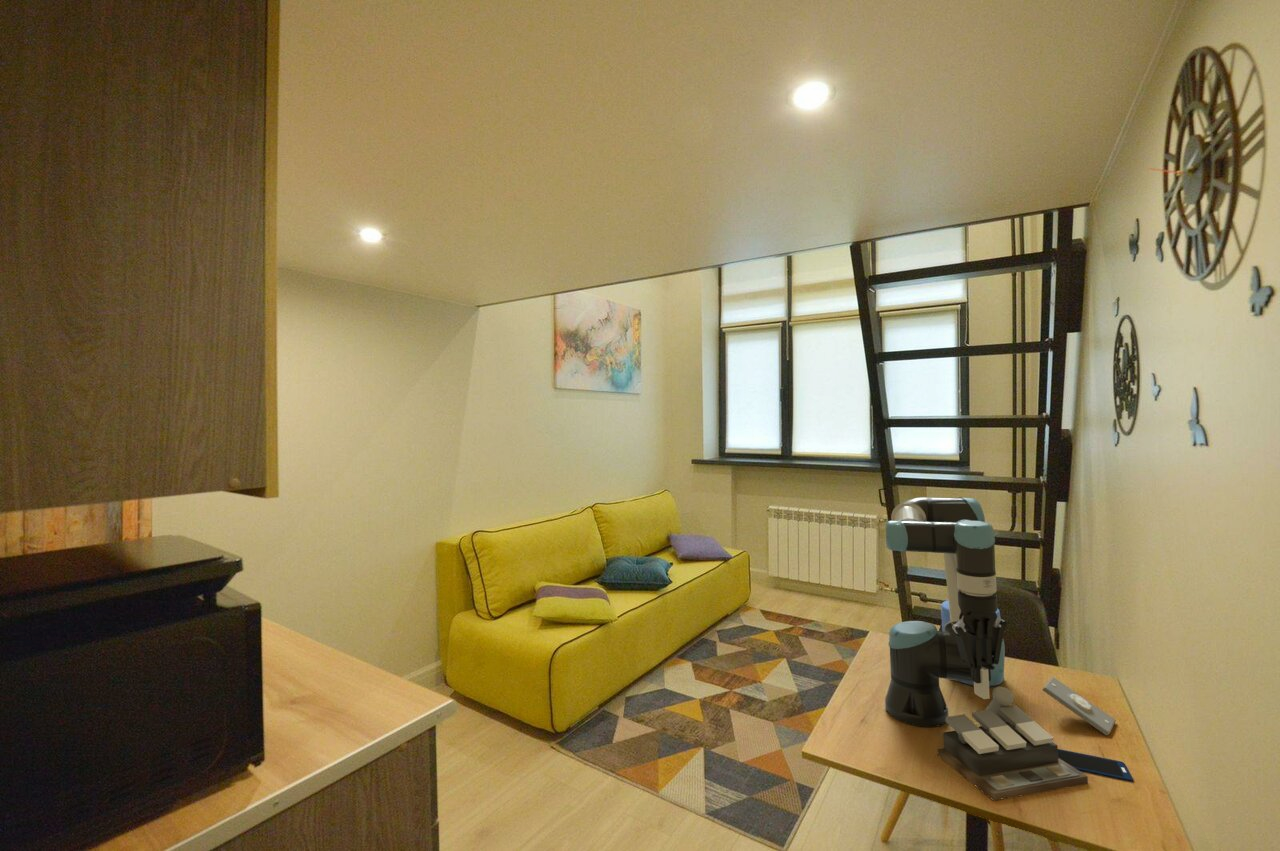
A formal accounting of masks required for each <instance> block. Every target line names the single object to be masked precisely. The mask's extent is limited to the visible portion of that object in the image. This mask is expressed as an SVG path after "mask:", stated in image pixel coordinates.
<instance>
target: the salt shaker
mask: <svg viewBox="0 0 1280 851" xmlns="http://www.w3.org/2000/svg"><path fill="white" fill-rule="evenodd" d="M1014 700H1015V696H1014V693H1013V692H1012V691H1011V689H1009V688H1007V687H1005V686H999V685H998V686H995V687H994V689H993V690H992V700H991V701H990V702H989V704H988V705H987V707H986V708H985V710H989V709H990V710H992V711H993V712H994V713H995V714H996V715H997V716H998V717H999V718H1000V719H1001V720H1003V721H1004V722H1008V721H1007V720H1005V719H1004V718H1003V717H1002V716H1001V715H1000V714H999V713H998V708H1002V707H1008V706H1012V705H1013V703H1014Z"/></svg>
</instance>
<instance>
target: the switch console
mask: <svg viewBox="0 0 1280 851" xmlns="http://www.w3.org/2000/svg"><path fill="white" fill-rule="evenodd" d="M1005 723H1006V724H1007V725H1008V726H1009V727H1010V728H1011V726H1012V725H1011V724H1010V723H1009V722H1005ZM978 727H979V728H980V729H981V730H982V731H983V732H984V733H985V729H984V728H983V727H982V726H981V725H979V726H978ZM1019 736H1020V737H1021V738H1022V739H1023V740H1025V741H1026V742H1027V743H1026V747H1023V748H1017V749H1011V750H1006V749H1005V748H1004V747H1003V746H1002V745H1001V744H1000V743H999V742H998V741H997V740H996V739H995V738H994V739H992V740H993V741H994V742H995V743H996V744H997V745H999V750H998V751H994V752H988V753H982V754H979V753H978V752H977V751H975V750H974V749H973V748H972V747H971V746H970V745H969V744H968V743H965V744H962V743H961V742H960V741H959V738H958V733H957V732H956V731H955V730H950V731H943V733H942V737H943V747H942V748H941V747H940V748H937V757H939V756H940V757H941V758H942V759H941V758H940V757H939V758H940V759H941V760H943V761H944V762H945V763H946V762H947V763H946V764H947V765H949V766H950V767H951V766H952V767H951V768H953V769H954V770H955V771H956V770H957V771H958V772H957V771H956V772H957V773H959V774H960V775H961V774H962V775H963V776H962V775H961V776H962V777H964V778H965V777H966V778H967V779H968V781H969V780H970V781H971V782H972V783H973V784H974V785H973V784H972V783H971V782H970V781H969V782H970V783H971V784H972V785H973V786H975V785H976V786H977V787H978V788H979V789H978V788H977V787H976V786H975V787H976V788H977V789H978V790H979V791H981V790H982V791H983V792H984V793H983V792H982V791H981V792H982V793H983V794H985V793H986V794H987V795H988V796H989V797H990V798H989V797H988V796H987V795H986V794H985V795H986V796H987V797H988V798H989V799H991V798H992V799H993V800H996V801H999V800H998V799H1001V798H1007V799H1009V798H1008V797H1012V798H1016V797H1015V796H1018V797H1021V796H1020V795H1023V796H1027V795H1026V794H1028V795H1032V794H1038V793H1043V792H1049V791H1053V790H1059V789H1064V788H1069V787H1075V786H1080V785H1085V784H1088V783H1089V777H1088V775H1087V774H1085V773H1084V772H1081V771H1079V770H1077V769H1075V768H1074V767H1072V766H1071V765H1069V764H1067V763H1066V762H1064V761H1063V760H1061V759H1059V758H1058V749H1059V747H1058V744H1056V743H1055V742H1054V741H1053V742H1052V743H1046V744H1041V745H1035V746H1034V745H1033V744H1032V743H1031V742H1030V741H1029V740H1028V739H1027V738H1025V737H1024V736H1023V735H1022V734H1019ZM966 778H965V779H966ZM967 779H966V780H967ZM992 799H991V800H992ZM993 800H992V801H993Z"/></svg>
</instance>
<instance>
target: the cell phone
mask: <svg viewBox="0 0 1280 851" xmlns="http://www.w3.org/2000/svg"><path fill="white" fill-rule="evenodd" d="M1058 758H1059V759H1061V760H1063V761H1064V762H1066V763H1067V764H1069V765H1071V766H1072V767H1074V768H1075V769H1077V770H1079V771H1080V772H1082V773H1086V774H1091V775H1097V776H1101V777H1106V778H1111V779H1115V780H1120V781H1124V782H1130V783H1132V782H1133V783H1134V778H1133V776H1132V774H1131V772H1130V770H1129V768H1128V767H1127V764H1126V763H1124V761H1121V760H1115V759H1111V758H1106V757H1102V756H1096V755H1091V754H1086V753H1080V752H1076V751H1071V750H1066V749H1061V748H1058Z"/></svg>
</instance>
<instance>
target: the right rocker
mask: <svg viewBox="0 0 1280 851" xmlns="http://www.w3.org/2000/svg"><path fill="white" fill-rule="evenodd" d="M998 713H999V714H1000V715H1001V716H1002V717H1003V718H1004V719H1005V720H1007V721H1008V722H1009V723H1010V724H1011V725H1012V726H1011V729H1012V730H1014V731H1015V732H1016V733H1017V734H1018V735H1019V734H1022V735H1023V736H1024V737H1025V738H1027V739H1028V740H1029V741H1030V742H1031V743H1032V744H1033V745H1034V746H1035V745H1041V744H1046V743H1052V742H1053V743H1054V739H1055V738H1054V737H1053V736H1052V735H1051V734H1050V733H1049V732H1048V731H1046V730H1045V729H1044V728H1043V727H1042V726H1041V725H1039V724H1038V723H1037V722H1036V721H1035V720H1033V719H1032V718H1031V717H1030V716H1029V715H1028V714H1026V713H1025V712H1024V711H1023V710H1022V709H1021V708H1019V707H1018V706H1017V705H1016V704H1015V705H1010V706H1008V707H1002V708H998Z"/></svg>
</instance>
